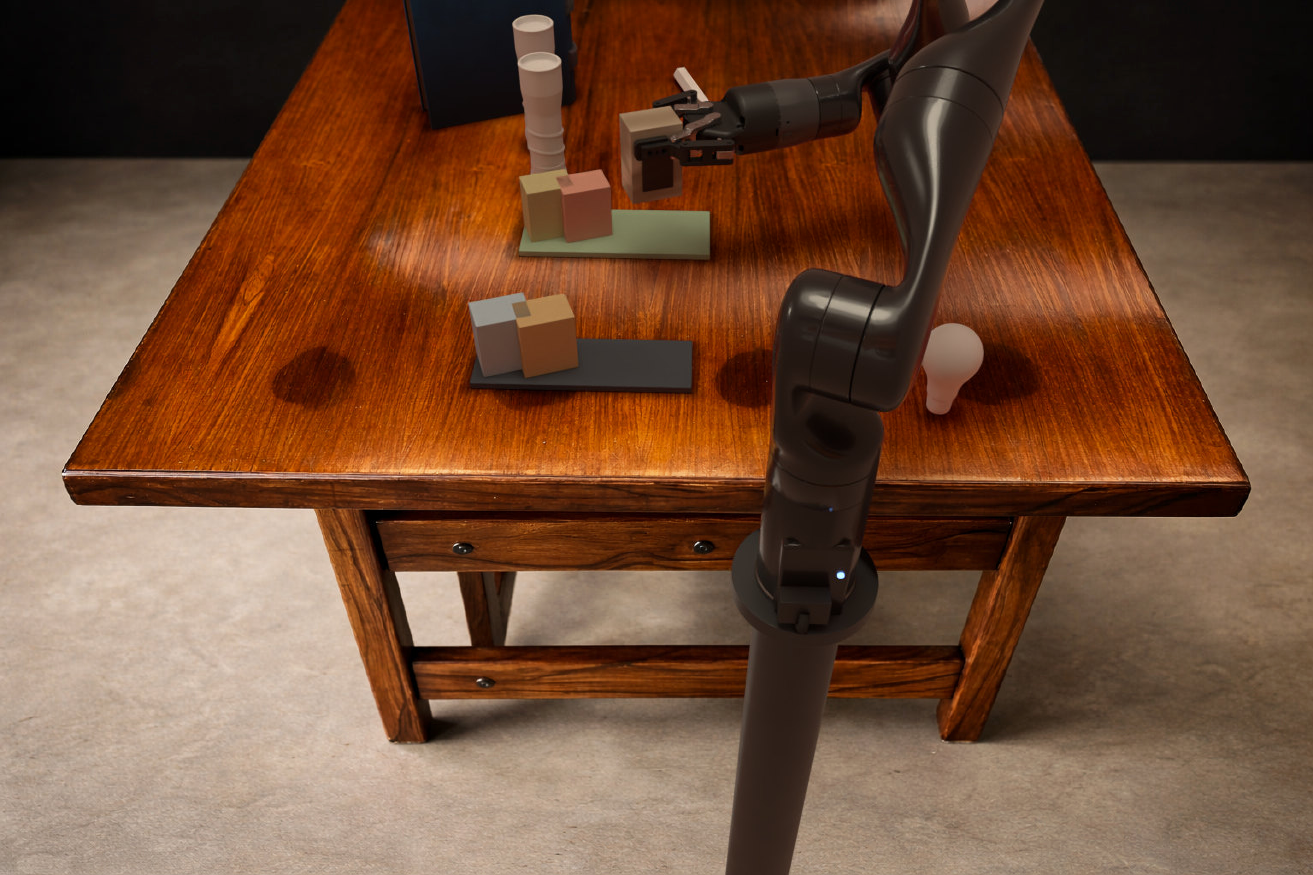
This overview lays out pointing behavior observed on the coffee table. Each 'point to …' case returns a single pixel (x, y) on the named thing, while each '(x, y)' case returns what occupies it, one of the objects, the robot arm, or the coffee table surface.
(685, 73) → the marker
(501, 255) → the coffee table surface
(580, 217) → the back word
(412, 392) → the coffee table surface
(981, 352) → the lightbulb
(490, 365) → the blocks on base plate
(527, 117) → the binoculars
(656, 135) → the tall taupe block
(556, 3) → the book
